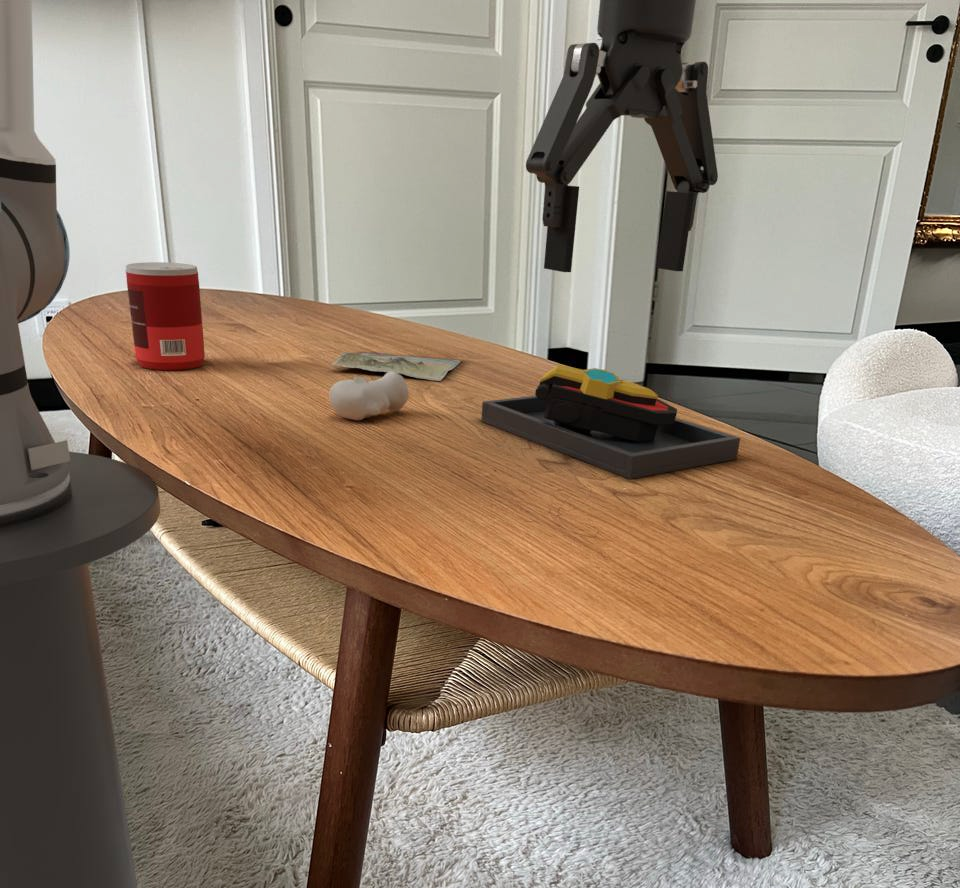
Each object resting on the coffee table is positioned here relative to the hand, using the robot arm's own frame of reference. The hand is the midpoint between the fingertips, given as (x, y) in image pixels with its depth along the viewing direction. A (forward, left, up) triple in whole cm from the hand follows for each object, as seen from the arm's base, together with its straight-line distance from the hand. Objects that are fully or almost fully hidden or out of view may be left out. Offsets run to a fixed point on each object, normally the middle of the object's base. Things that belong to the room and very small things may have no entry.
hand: (615, 270), depth 83 cm
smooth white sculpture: (-17, -15, -15) cm, 28 cm away
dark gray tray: (0, +1, -15) cm, 15 cm away
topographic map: (-38, +1, -16) cm, 41 cm away
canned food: (-49, -24, -15) cm, 57 cm away
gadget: (0, +1, -15) cm, 15 cm away
